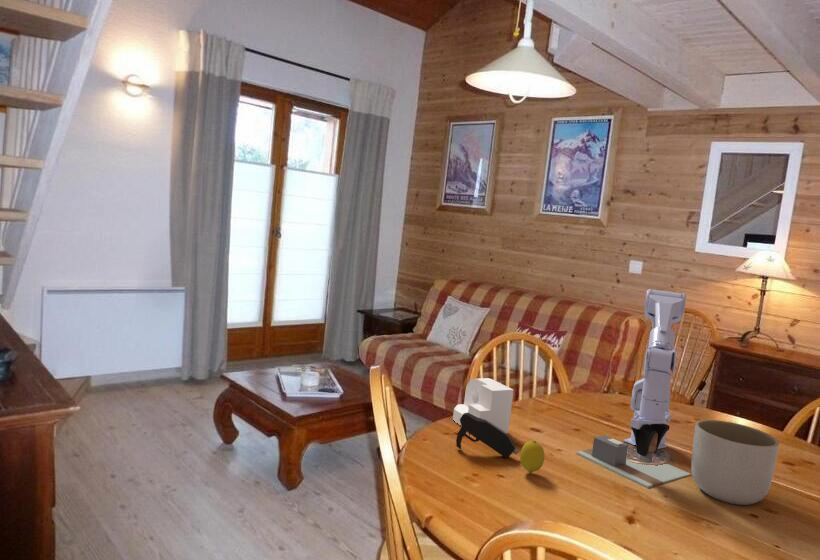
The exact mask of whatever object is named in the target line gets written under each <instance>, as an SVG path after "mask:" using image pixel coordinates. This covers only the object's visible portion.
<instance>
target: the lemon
mask: <svg viewBox="0 0 820 560" xmlns="http://www.w3.org/2000/svg"><path fill="white" fill-rule="evenodd" d="M519 456H520V457H519V461H520V464H521V466H522V467H523V469H524V470H526V471H527V472H528V474H532V473H533V472H537V471H539V470H541V468H542V467H543V465H544V462H545V451H544V447H543V446H542V445H541V444H540V443H539V442H538V441H537V440H536V439H532V440H530V441H528V442H527V441H526V442H525V443H524V444H523V446H522V448H521V450H520V455H519Z"/></svg>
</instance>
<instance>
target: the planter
mask: <svg viewBox="0 0 820 560" xmlns="http://www.w3.org/2000/svg"><path fill="white" fill-rule="evenodd" d="M693 435H694V436H693V444H692V452H691V466H690V467H691V469H690V470H691V475H692V478H693V480H694V482H695V484H696V485H697V486H698V488H700V490H701V491H702V492H703V493H705V494H707V495H708V496H709V497H711V498H714V499H715V500H718V501H720V502H723V503H727V504H731V505H739V506H749V505H754V504H756V503H758V502H760V501H762V500H763V499H765V498H766V496H767V495H768V493H769V491H770V488H771V485H772V482H773V478H774V474H775V468H776V464H777V458H778V453H779V448H780V441H779V440H778V439H777V438H776V437H775V436H773V435H772V434H769V433H767V432H766V431H762V430H760V429H757V428H754V427H751V426H748V425H744V424H739V423H736V422H732V421H725V420H718V419H717V420H716V419H702V420H698V421H697V422H696V423H695V427H694V434H693Z"/></svg>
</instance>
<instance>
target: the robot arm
mask: <svg viewBox="0 0 820 560" xmlns="http://www.w3.org/2000/svg"><path fill="white" fill-rule="evenodd" d="M686 300H687V295H686V294H685V293H684V292H682V293H680V292H676V291H675V292H674V291H666V290H658V289H652V288H649V289H647V290H646V295H645V300H644V313H643V314H644V317H645V318H646V319H648V320H650V322H651V327H652V328H651V330H650V332H649V338H648V347H647V349H645V350H646V351H645V356H644V357H645V358H644V364H643V369H644V373H643V378H641V379H638V380H637V381H635V383H634V384H633V388H632V393H631V398H630V399H631V400H630V409H631V411H633V418H631V419H630V429H631V434H630V437H629V438H624V439H623V442H625V443H626V444H629V445H632V446H634V445H636V446H635V448H636V449H635V450H637V454H640V455H642V456H646V455H647V453H648V450H649V446H650V442H651V440H652V438H653V436H654V434H655V433H658V438H657V445H656V451H654V453H653V454H656V453H657V452H658V450H659V449H660V450H661V449H664V448H668V446H669V445H668V444H666V438H667V432H668V431H669V430H670V425H668V423H669V422H671V417H672V414H671V413H670V412H669V411H670V403H671V389H670V388H671V387H670V385H671V378H672V375H674V372H675V368H676V361H677V355H676V348H675V342H676V341H675V340H676V339H675V338H676V334H675V332H674V331H673V330H672V329H671V327H672V324H674V323H679V322H680V321H681V320H682V318H683V316H684V314H685V309H686V302H687V301H686ZM670 371H671V373H670Z"/></svg>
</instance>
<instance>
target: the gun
mask: <svg viewBox="0 0 820 560" xmlns="http://www.w3.org/2000/svg"><path fill="white" fill-rule="evenodd" d="M460 423H461V427H460V428H459V430H458V432H457V434H456V440H455V445H456V447H457V448H458V449H459V450H462V440H463V438H464V437H465V438H466V439H468V440H470V441H471V442H474V443H477V442H479V441H480V442H482V443H483V444H484V445H486V446H488V447H489V448H490V449H492V450H494V451H495V452H496V453H498V454H499V455H501V456H502V457H504V458H510V456H511V455H512V454H515V455H517V454H518V453H519V450H518V449H517V448H516V445H515V442H514V440H512V438H511V437H510V436H509V434H508V433H506V432H504V431H503V430H501V429H500V428H498V427H497V426H495V425H494V424H492V423H491V422H488V421H486V420H484V419H481V418H477V417H476V416H474V415H472V414H470V413H464V414H463V415H462V417H461V418H460ZM467 433H468V434H467ZM471 436H472V437H473V438H472V437H471ZM474 437H475V439H474Z"/></svg>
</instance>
